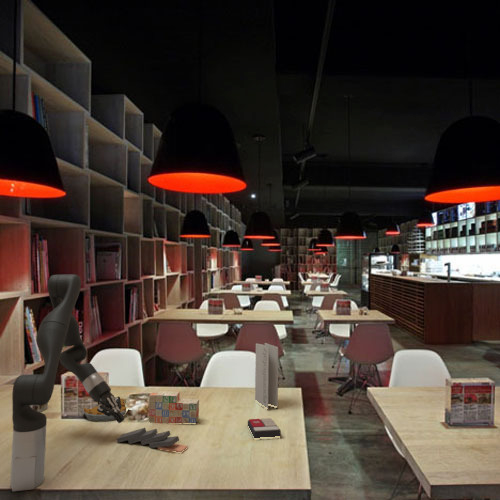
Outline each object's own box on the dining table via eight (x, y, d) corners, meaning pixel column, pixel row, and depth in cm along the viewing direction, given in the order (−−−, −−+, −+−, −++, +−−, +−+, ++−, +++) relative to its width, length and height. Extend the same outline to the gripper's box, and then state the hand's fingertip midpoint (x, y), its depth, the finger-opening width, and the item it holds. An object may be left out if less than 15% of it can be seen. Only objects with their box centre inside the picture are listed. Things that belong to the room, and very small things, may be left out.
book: (272, 417, 178) (280, 428, 163) (272, 427, 177) (280, 439, 163) (247, 418, 176) (254, 429, 161) (247, 428, 175) (254, 440, 161)
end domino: (164, 445, 156) (187, 450, 153) (157, 451, 151) (181, 455, 148) (165, 441, 156) (187, 445, 153) (157, 446, 151) (181, 451, 148)
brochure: (254, 402, 208) (255, 343, 210) (264, 400, 210) (265, 342, 212) (267, 410, 195) (268, 348, 197) (277, 409, 198) (278, 347, 199)
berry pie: (78, 424, 175) (79, 412, 175) (85, 408, 196) (85, 397, 196) (131, 420, 181) (131, 408, 181) (131, 404, 202) (132, 394, 202)
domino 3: (148, 440, 159) (170, 434, 156) (141, 445, 154) (164, 439, 151) (147, 436, 159) (169, 430, 156) (140, 441, 154) (162, 435, 152)
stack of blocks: (198, 420, 182) (199, 392, 183) (195, 425, 176) (196, 396, 177) (152, 418, 184) (153, 390, 185) (148, 423, 178) (148, 394, 178)
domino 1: (124, 437, 161) (146, 431, 159) (117, 443, 156) (140, 436, 154) (123, 433, 161) (145, 427, 160) (116, 438, 156) (139, 432, 155)
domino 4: (158, 442, 157) (179, 440, 153) (150, 448, 152) (171, 445, 148) (157, 438, 157) (178, 436, 153) (149, 443, 152) (170, 441, 149)
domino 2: (135, 439, 160) (157, 432, 159) (129, 444, 155) (152, 437, 154) (134, 434, 160) (156, 428, 159) (127, 440, 156) (150, 433, 154)
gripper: (91, 385, 156) (118, 421, 152) (112, 376, 169) (137, 409, 165) (79, 397, 157) (105, 433, 153) (100, 388, 170) (125, 421, 166)
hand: (122, 421), depth 159 cm, fingers closed
